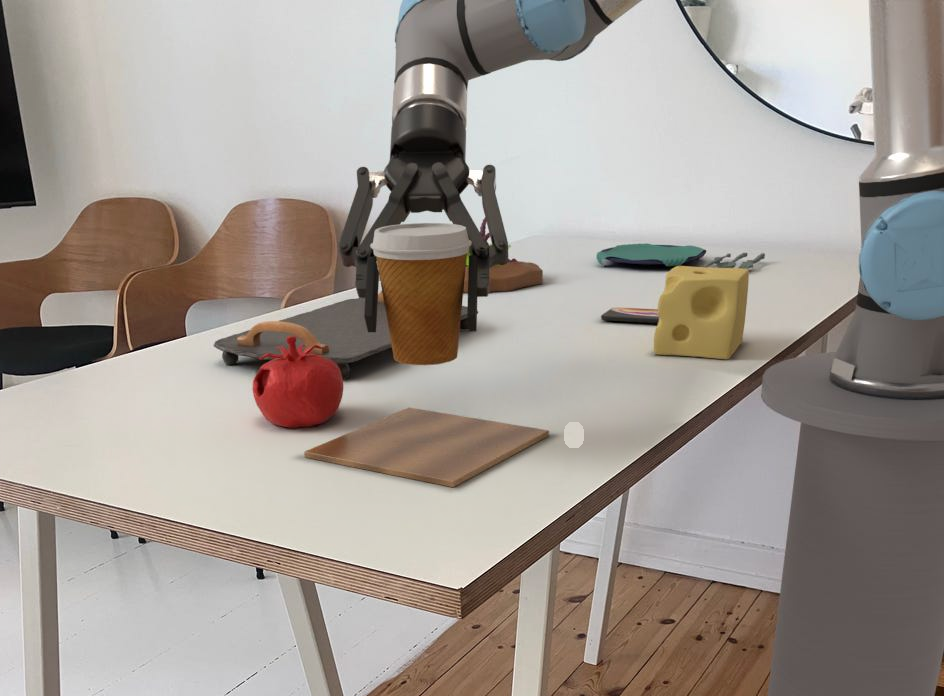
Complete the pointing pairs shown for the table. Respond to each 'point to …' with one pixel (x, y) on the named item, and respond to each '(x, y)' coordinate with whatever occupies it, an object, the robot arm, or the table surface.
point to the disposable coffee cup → (422, 288)
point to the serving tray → (319, 334)
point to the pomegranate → (298, 387)
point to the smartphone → (631, 315)
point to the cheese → (702, 312)
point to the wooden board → (428, 446)
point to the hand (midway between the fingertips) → (420, 323)
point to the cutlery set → (667, 255)
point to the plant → (508, 272)
